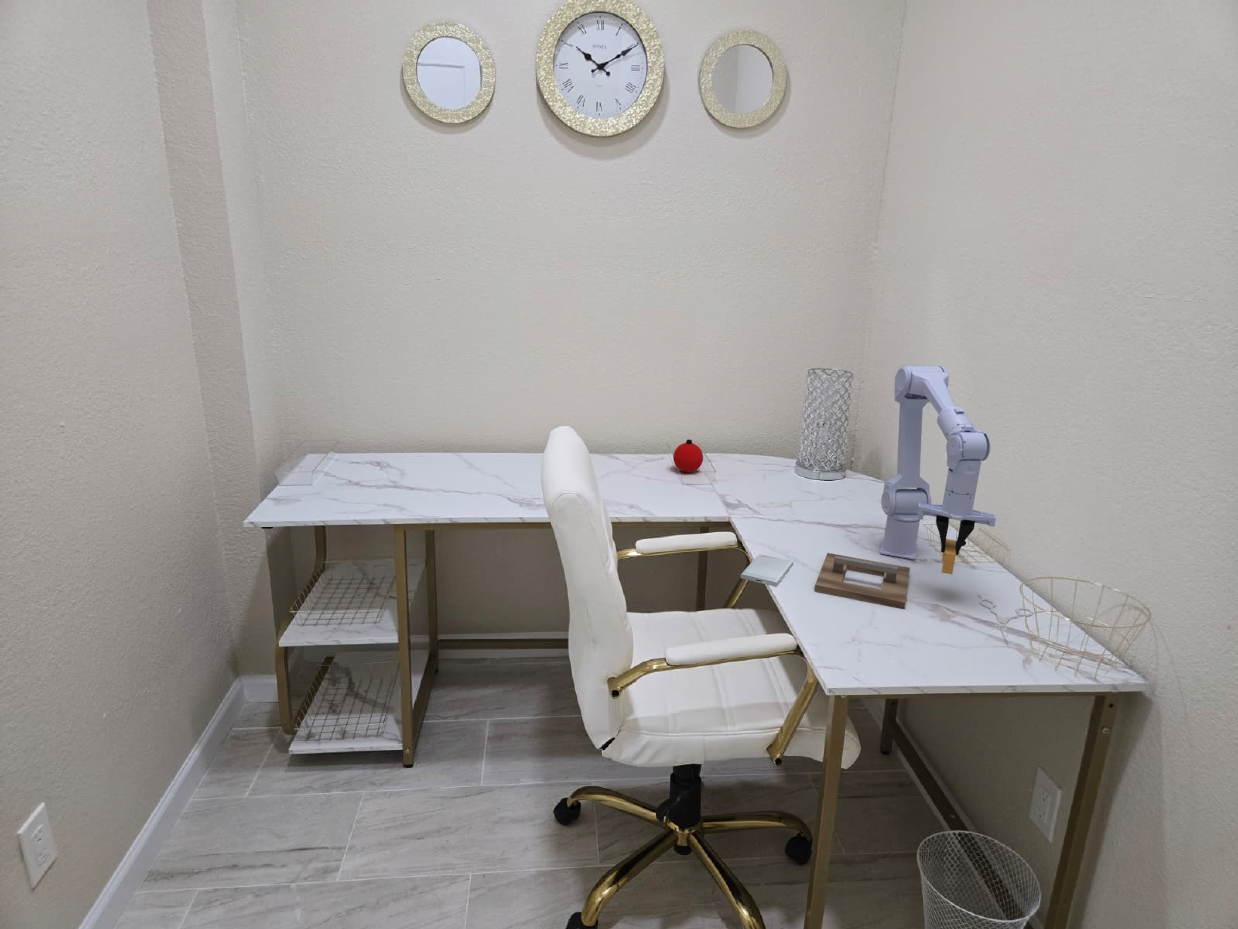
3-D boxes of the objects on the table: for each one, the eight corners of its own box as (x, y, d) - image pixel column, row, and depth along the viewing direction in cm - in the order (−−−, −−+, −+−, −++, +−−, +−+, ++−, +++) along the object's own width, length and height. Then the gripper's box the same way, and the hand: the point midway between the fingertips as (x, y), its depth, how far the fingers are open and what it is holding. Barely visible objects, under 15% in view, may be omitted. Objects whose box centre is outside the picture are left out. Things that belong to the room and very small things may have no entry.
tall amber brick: (942, 558, 169) (945, 538, 167) (952, 560, 168) (955, 540, 166) (941, 573, 161) (945, 553, 160) (952, 575, 161) (955, 554, 159)
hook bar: (833, 568, 174) (835, 555, 173) (895, 580, 170) (897, 566, 169) (832, 572, 172) (834, 558, 171) (895, 583, 168) (897, 570, 167)
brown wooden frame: (826, 558, 182) (827, 552, 182) (909, 573, 176) (910, 567, 176) (814, 591, 167) (815, 584, 166) (904, 609, 160) (905, 602, 160)
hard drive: (758, 553, 182) (740, 573, 171) (793, 561, 178) (777, 581, 168) (758, 560, 182) (740, 580, 172) (793, 567, 179) (776, 589, 168)
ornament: (694, 478, 234) (696, 445, 231) (667, 472, 238) (669, 440, 235) (707, 470, 242) (709, 438, 238) (680, 465, 246) (682, 434, 243)
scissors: (1033, 607, 162) (1028, 650, 146) (1033, 610, 163) (1027, 654, 146) (978, 593, 167) (966, 634, 151) (977, 597, 168) (965, 637, 151)
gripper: (921, 490, 158) (911, 552, 163) (1000, 502, 153) (988, 566, 158) (922, 480, 165) (913, 540, 169) (999, 491, 160) (987, 552, 164)
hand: (949, 552), depth 164 cm, fingers closed on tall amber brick, 2 cm apart
